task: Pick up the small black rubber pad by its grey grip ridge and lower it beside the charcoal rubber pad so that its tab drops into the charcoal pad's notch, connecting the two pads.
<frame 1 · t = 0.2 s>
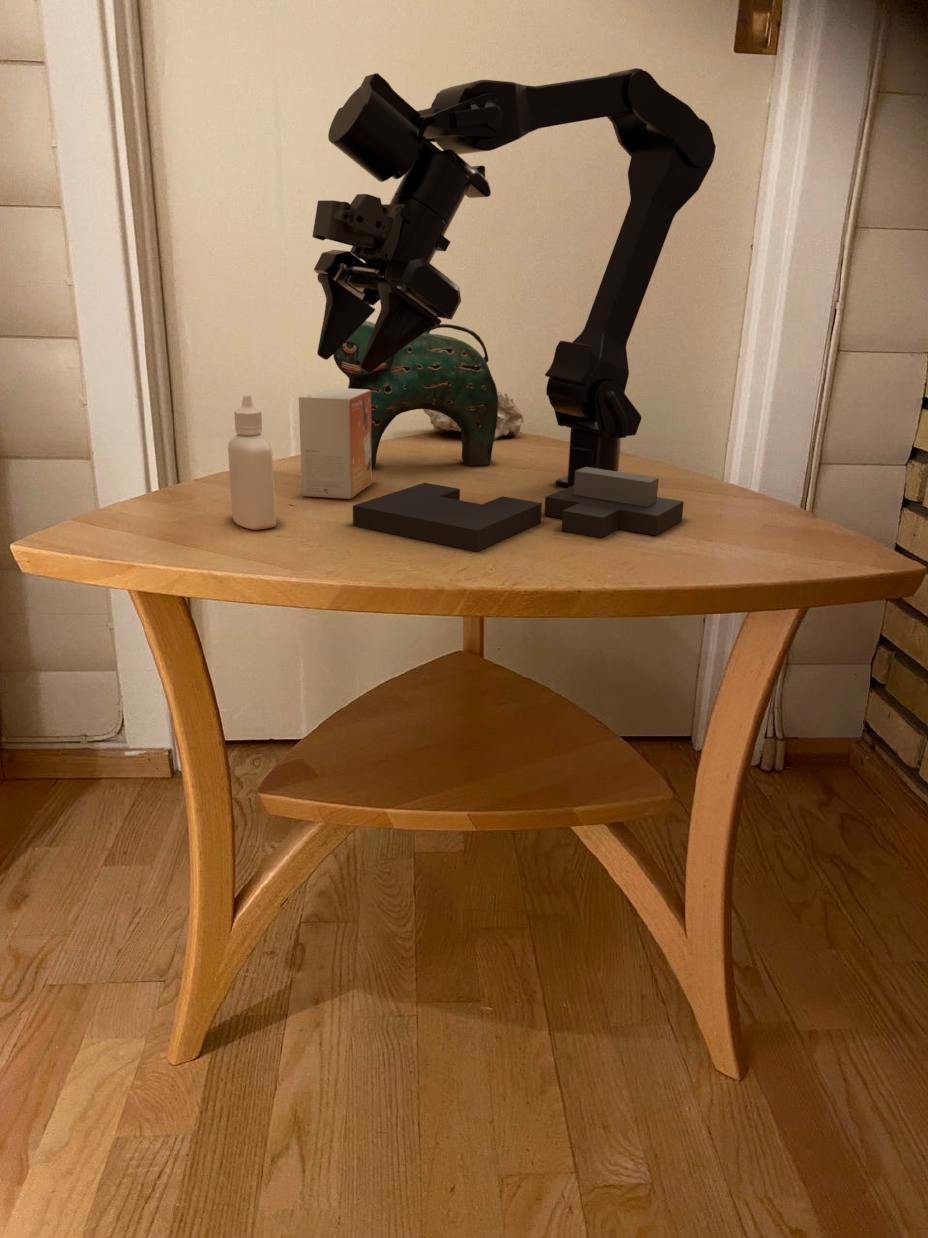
hand: (342, 363, 90), 15 cm above the table, tool tilted 30°, fingers open, 9 cm apart
charcoal pad: (448, 524, 93), on the table
small box: (338, 492, 105), on the table
ceramic cat: (415, 466, 118), on the table
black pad: (612, 518, 97), on the table
eye dropper bottle: (254, 525, 92), on the table
seashell: (471, 436, 137), on the table
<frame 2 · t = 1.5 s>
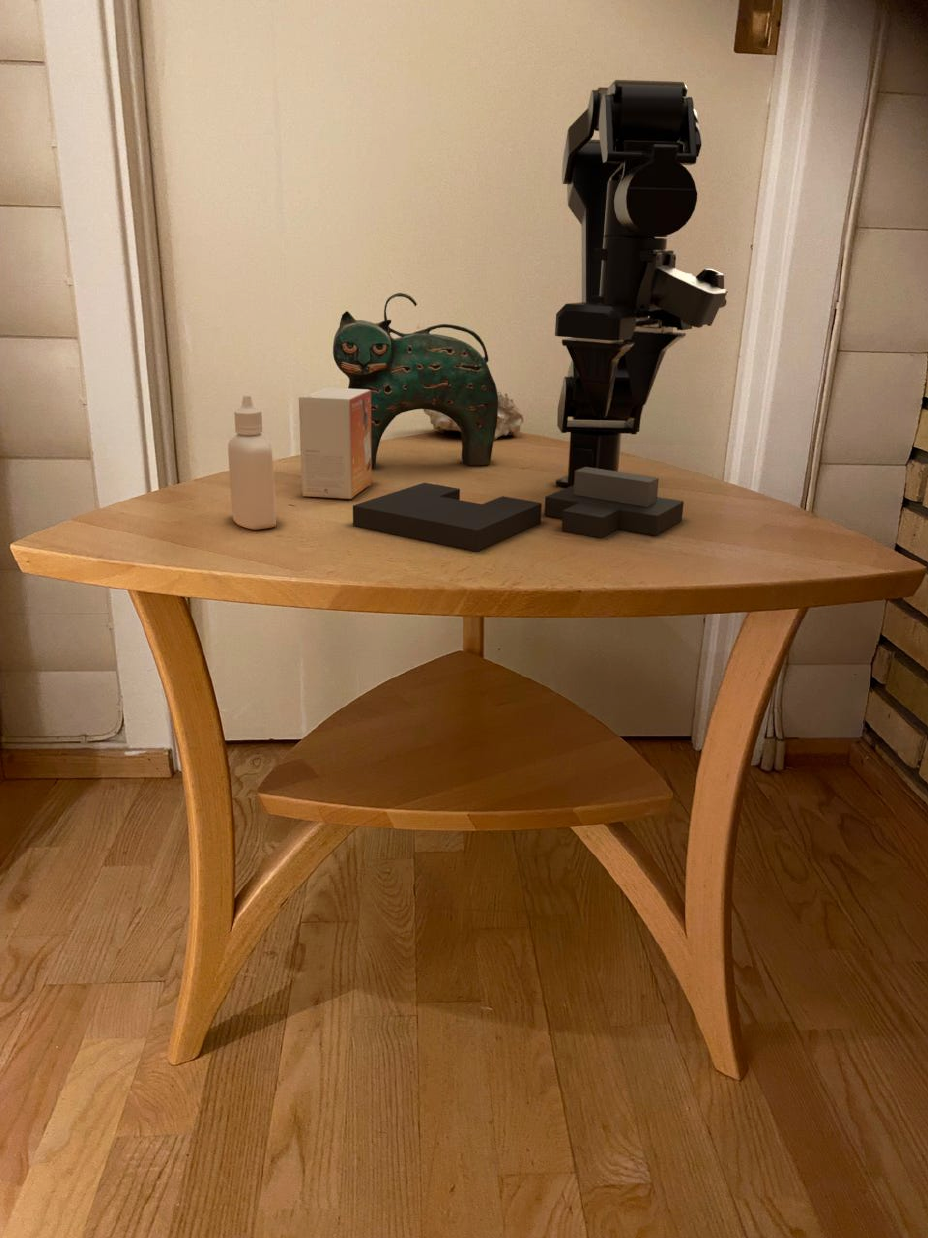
hand: (620, 410, 93), 11 cm above the table, tool pointing down, fingers open, 9 cm apart
nothing on the table moved.
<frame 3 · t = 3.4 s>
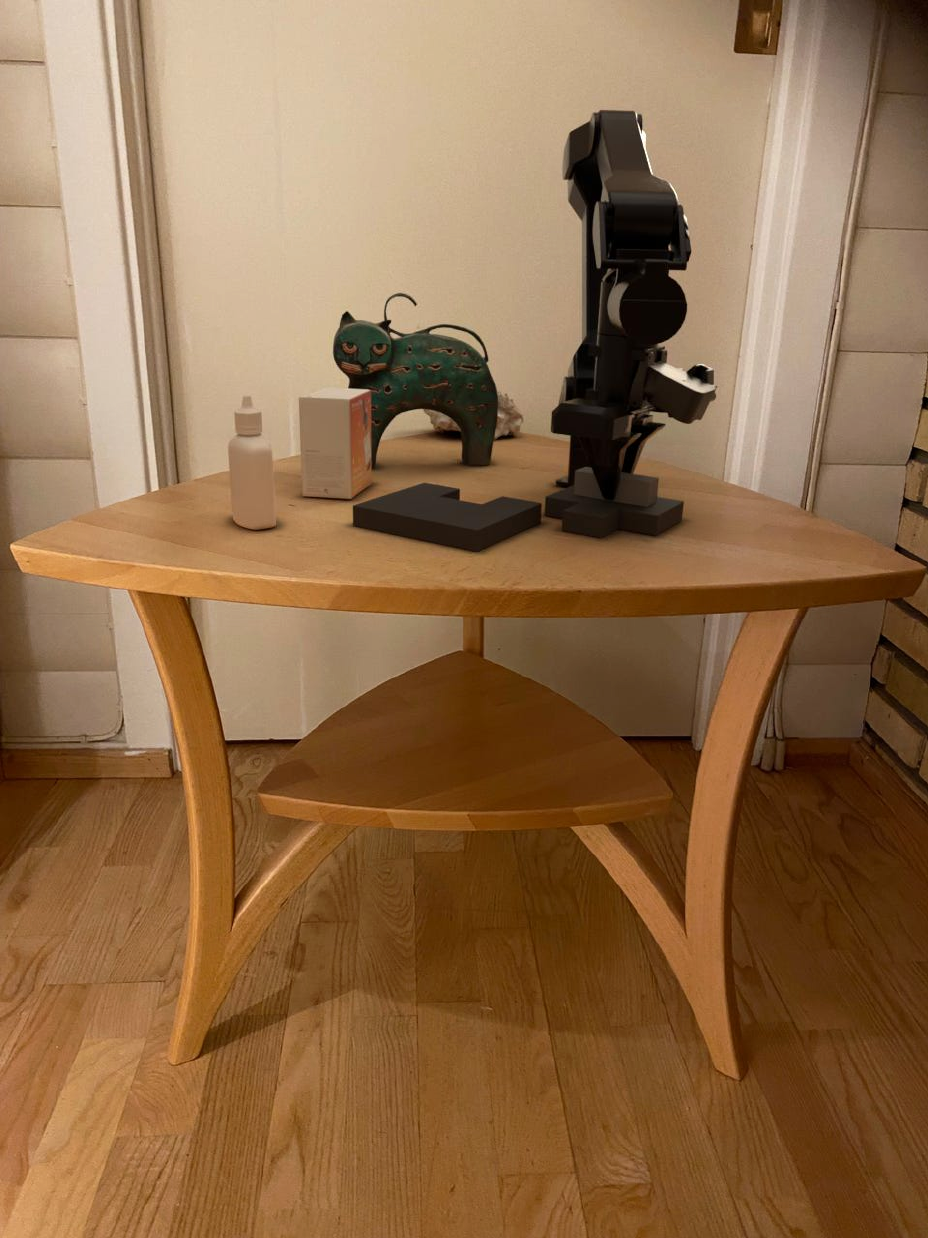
hand: (614, 496, 96), 2 cm above the table, tool pointing down, fingers closed on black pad, 2 cm apart
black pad: (612, 518, 97), on the table, touching gripper
everything else where it was.
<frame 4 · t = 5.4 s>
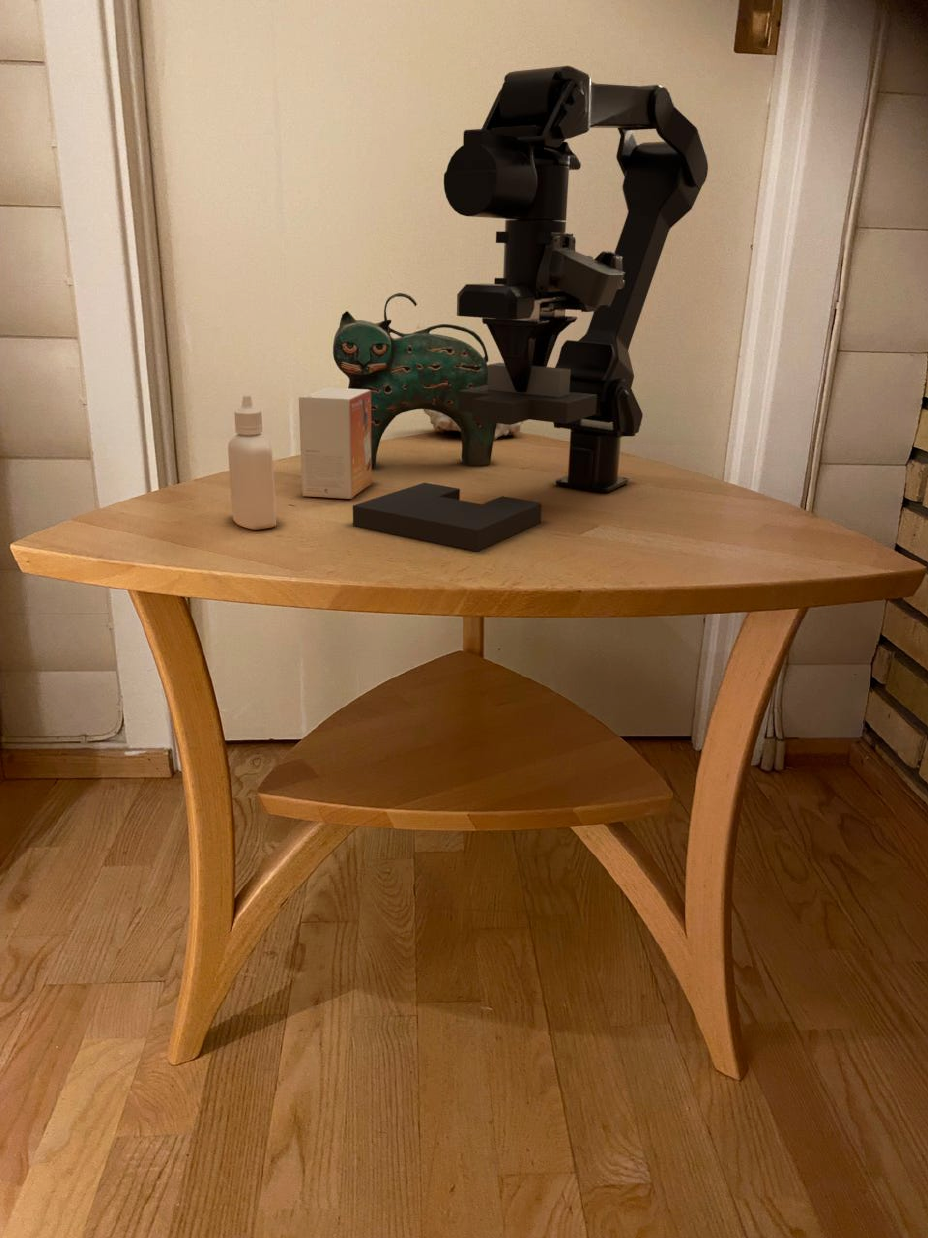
hand: (527, 390, 96), 12 cm above the table, tool pointing down, fingers closed on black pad, 2 cm apart
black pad: (526, 412, 96), point 10 cm above the table, touching gripper
everything else where it was.
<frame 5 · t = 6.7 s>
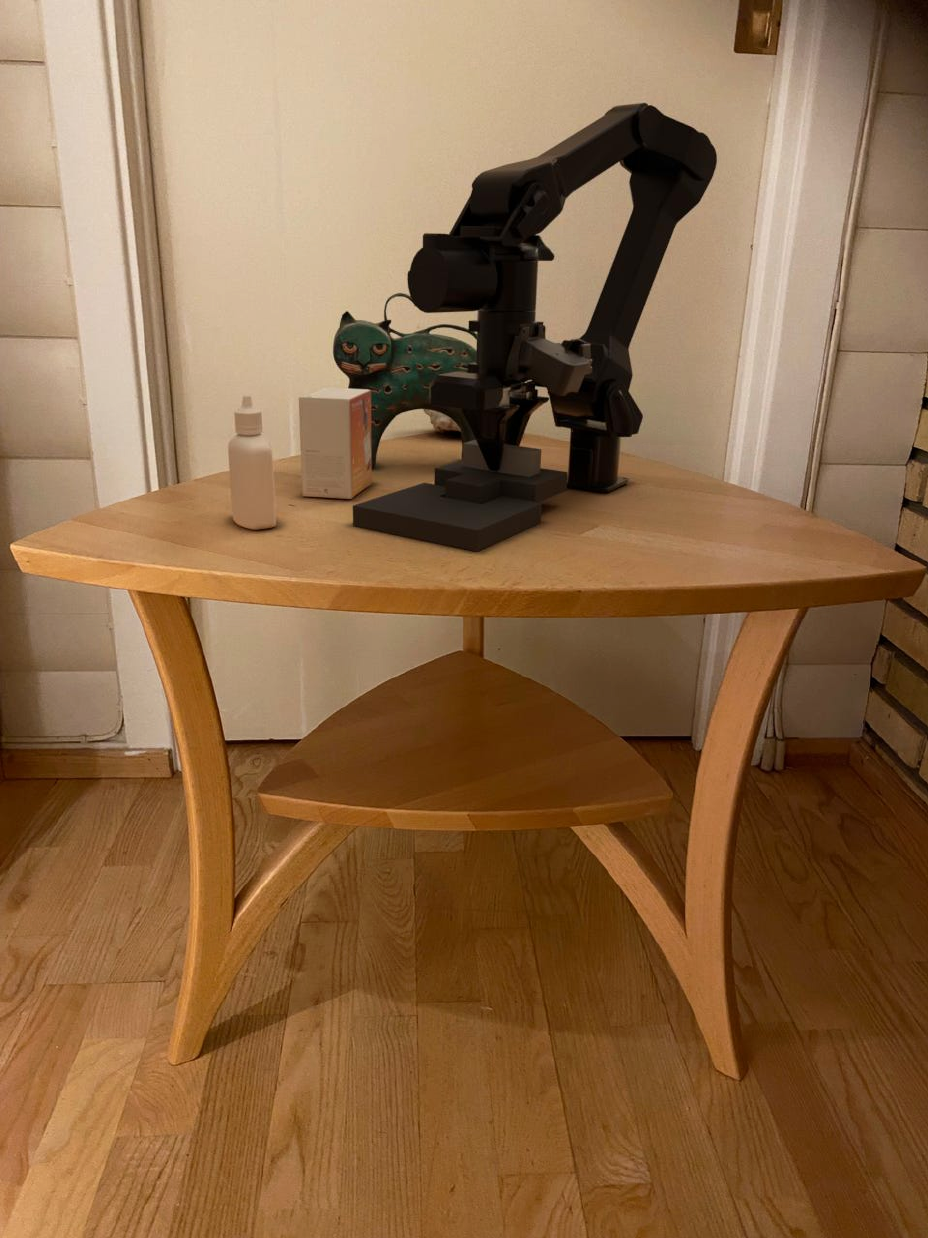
hand: (500, 468, 99), 4 cm above the table, tool pointing down, fingers closed on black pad, 2 cm apart
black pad: (500, 488, 100), point 2 cm above the table, touching gripper
everything else where it was.
when the fingers open (2 cm above the table, at t = 7.5 s): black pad stays where it is, on the table.
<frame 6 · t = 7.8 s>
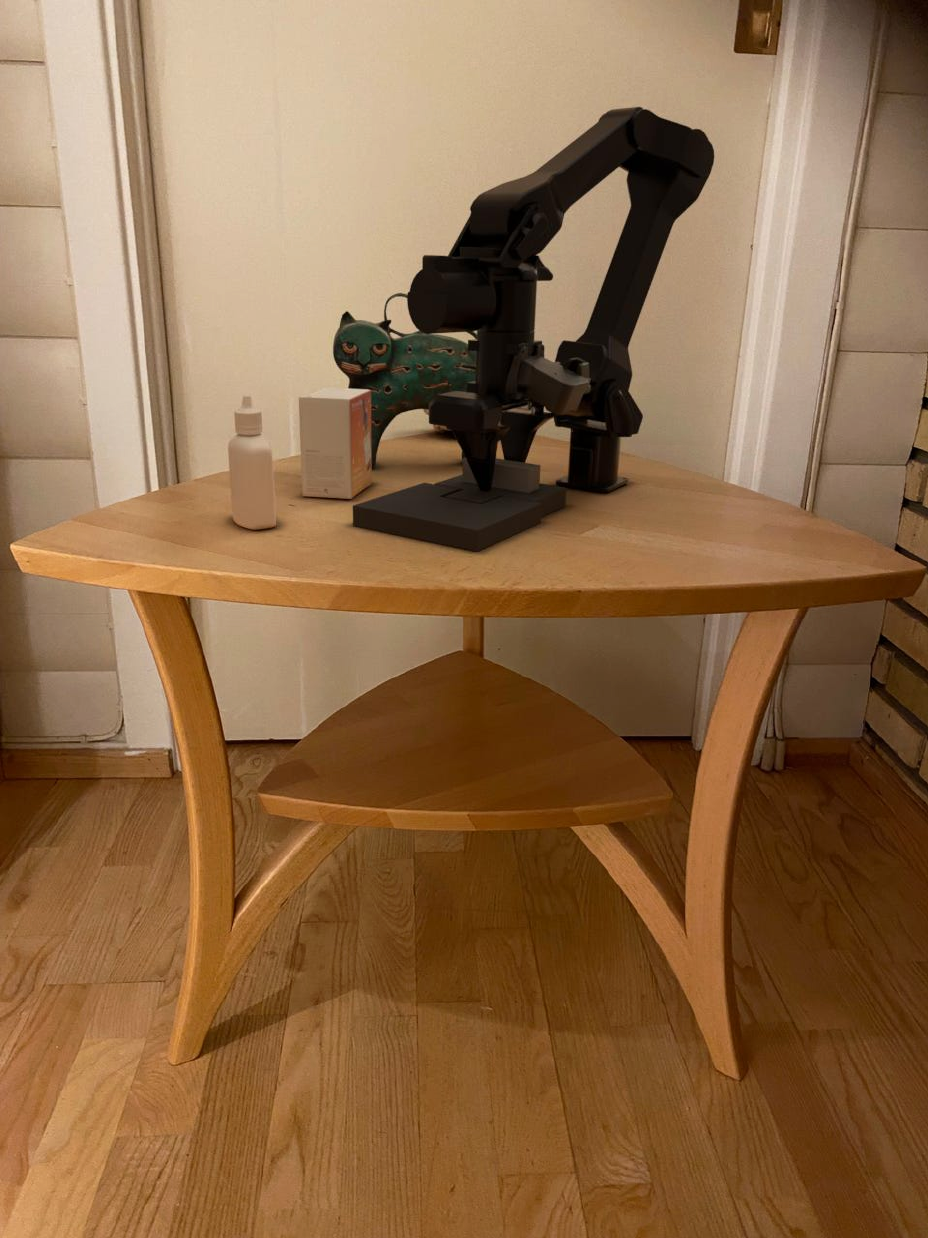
hand: (499, 485, 100), 2 cm above the table, tool pointing down, fingers open, 6 cm apart
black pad: (499, 504, 101), on the table, touching gripper
everything else where it was.
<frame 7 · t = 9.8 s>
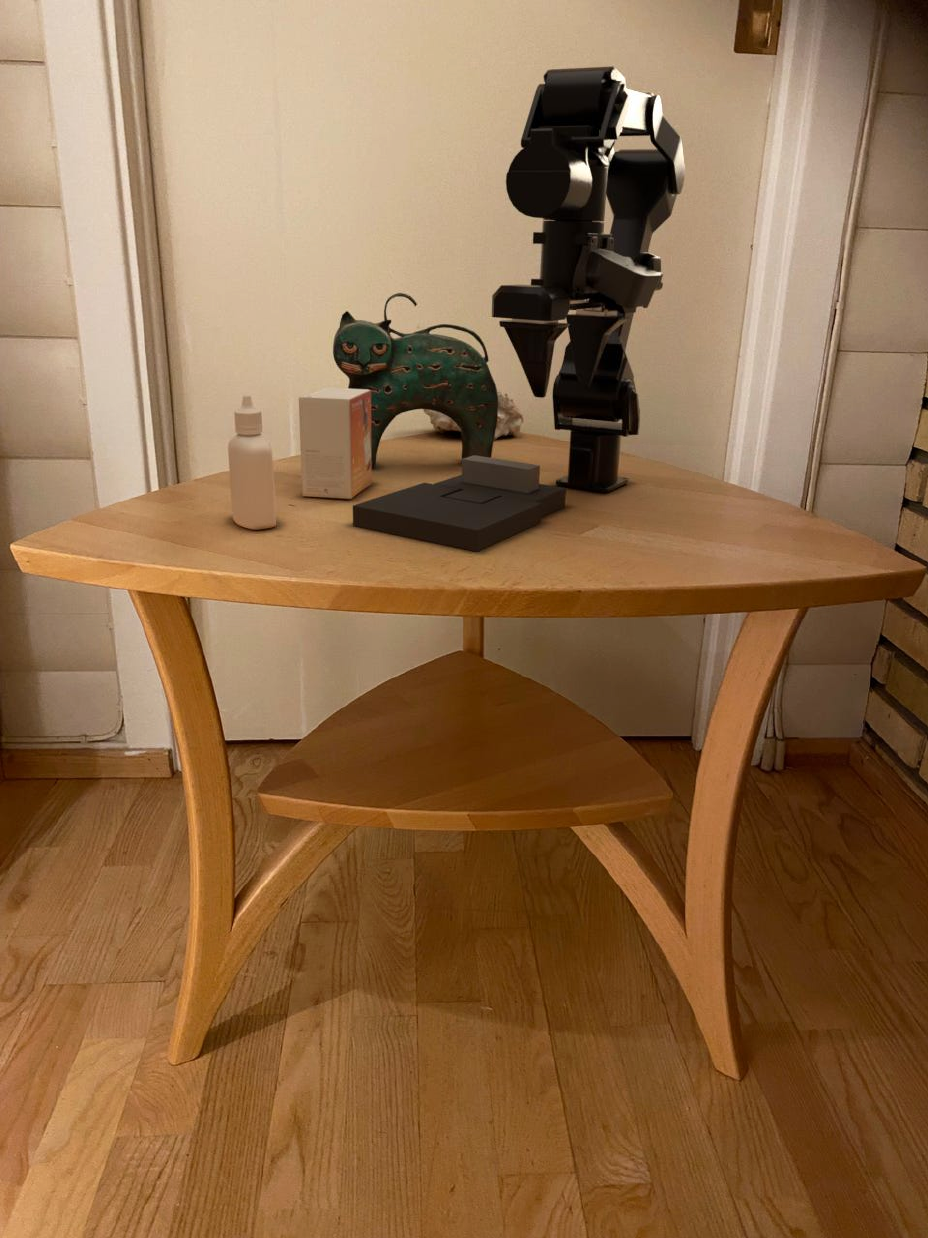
hand: (563, 392, 95), 12 cm above the table, tool pointing down, fingers open, 9 cm apart
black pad: (499, 504, 101), on the table
everything else where it was.
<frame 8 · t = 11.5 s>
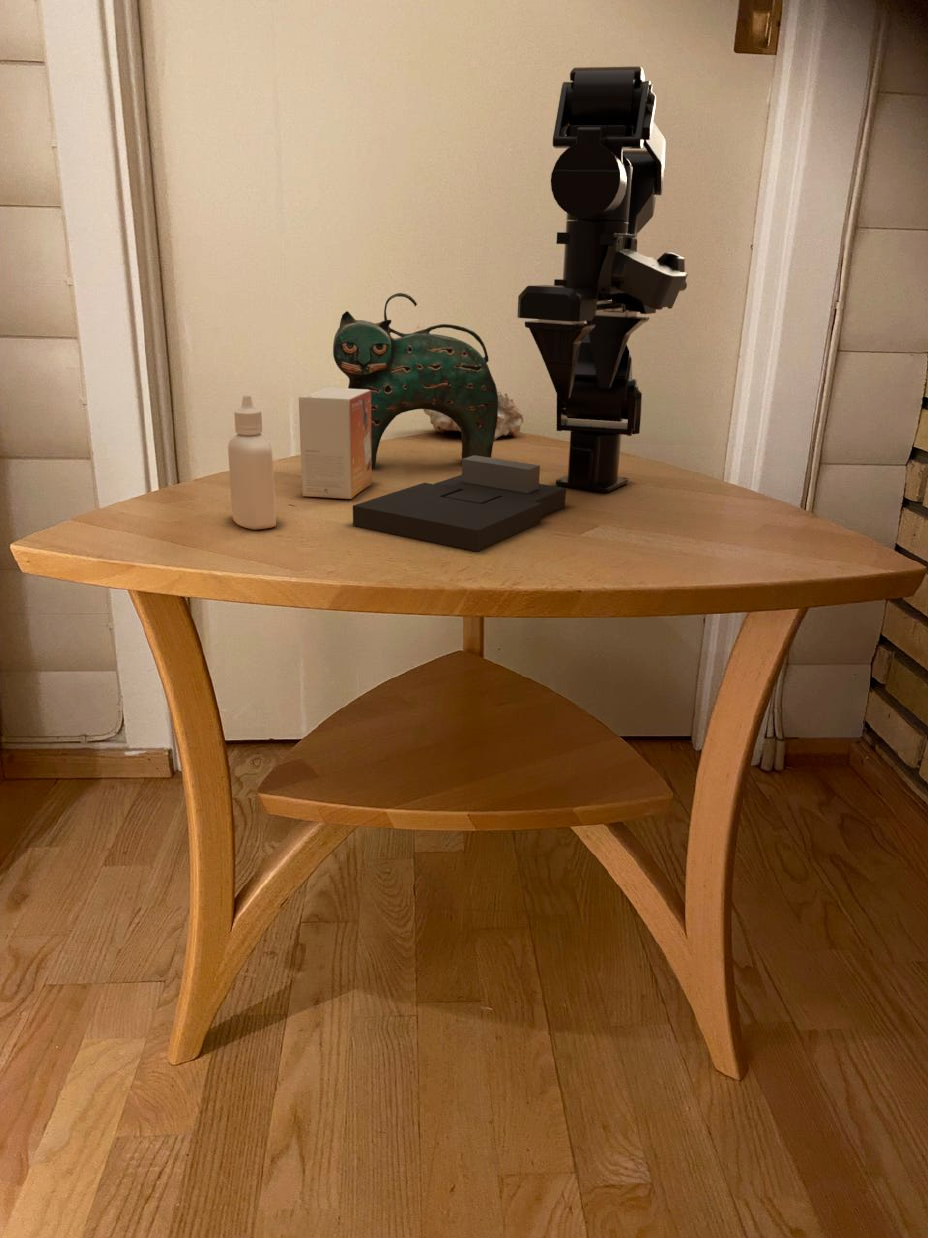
hand: (585, 393, 94), 12 cm above the table, tool pointing down, fingers open, 9 cm apart
nothing on the table moved.
at the end: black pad 0.1 cm from the target spot, on the table; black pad tilted 0°; the gripper is holding nothing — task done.
